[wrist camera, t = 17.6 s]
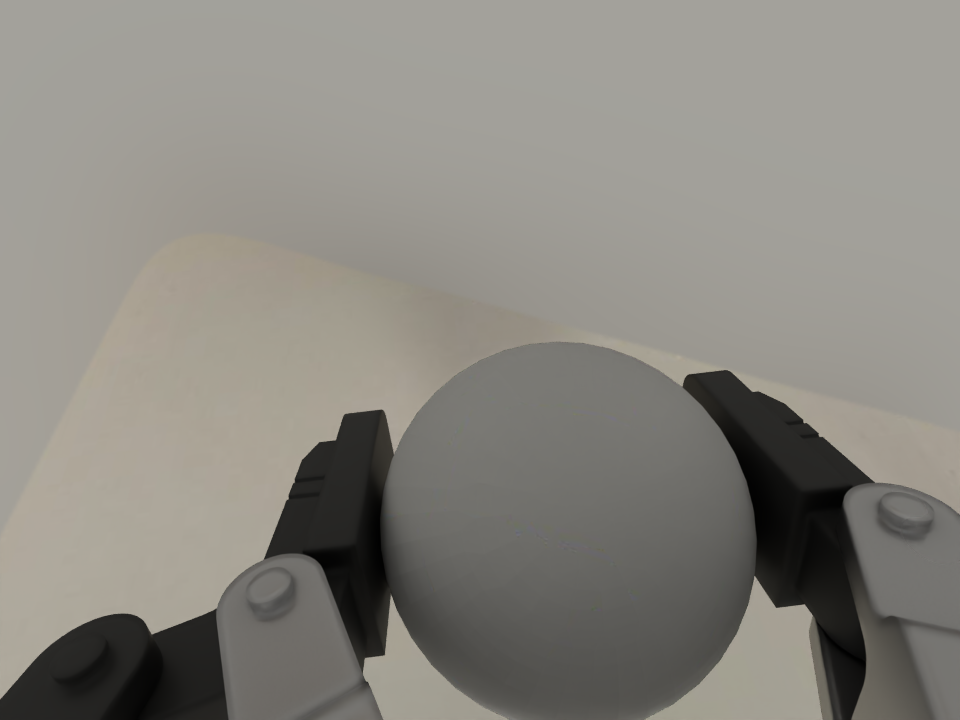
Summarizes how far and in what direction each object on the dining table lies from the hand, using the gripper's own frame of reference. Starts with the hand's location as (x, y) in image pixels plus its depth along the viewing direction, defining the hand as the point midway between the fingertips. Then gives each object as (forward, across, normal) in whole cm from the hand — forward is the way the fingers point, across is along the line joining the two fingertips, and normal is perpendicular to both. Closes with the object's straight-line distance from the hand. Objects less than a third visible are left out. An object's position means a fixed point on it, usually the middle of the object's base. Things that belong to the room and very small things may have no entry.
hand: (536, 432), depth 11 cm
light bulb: (+3, 0, +5) cm, 6 cm away
